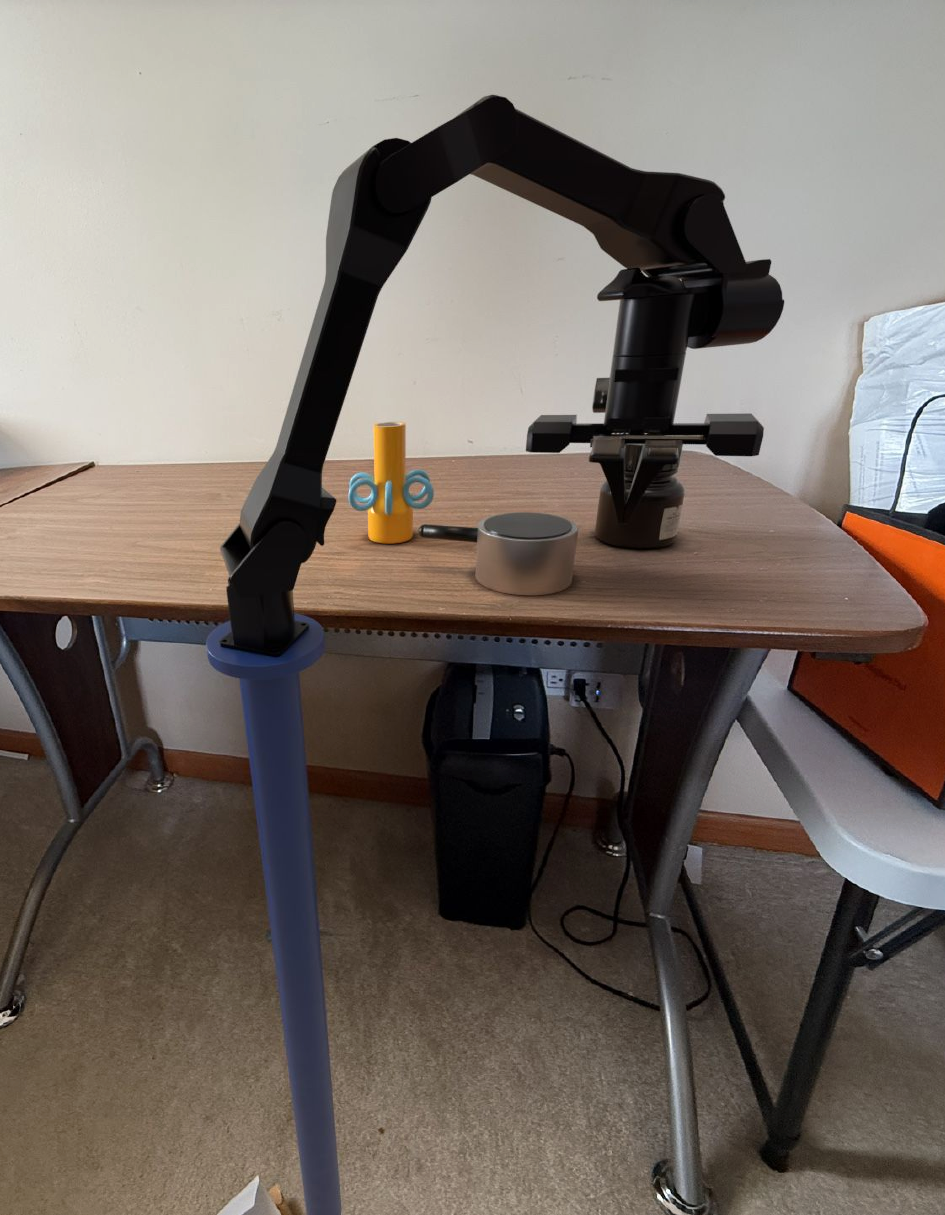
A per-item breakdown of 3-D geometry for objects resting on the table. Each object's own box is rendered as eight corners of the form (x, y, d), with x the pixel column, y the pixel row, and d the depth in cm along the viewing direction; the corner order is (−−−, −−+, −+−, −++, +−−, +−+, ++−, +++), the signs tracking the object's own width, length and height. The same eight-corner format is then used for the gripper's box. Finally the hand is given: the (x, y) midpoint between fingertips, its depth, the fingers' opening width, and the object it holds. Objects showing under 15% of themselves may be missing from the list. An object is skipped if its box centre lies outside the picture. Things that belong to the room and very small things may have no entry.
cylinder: (369, 557, 79) (366, 435, 72) (333, 535, 88) (328, 426, 81) (451, 539, 82) (455, 422, 76) (408, 520, 91) (409, 414, 85)
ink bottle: (685, 552, 72) (706, 447, 67) (600, 551, 74) (615, 449, 69) (664, 526, 80) (681, 431, 75) (588, 526, 83) (600, 433, 78)
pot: (576, 566, 71) (582, 513, 68) (566, 600, 63) (573, 542, 60) (429, 553, 78) (430, 505, 76) (405, 582, 70) (405, 530, 68)
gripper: (764, 341, 58) (727, 506, 64) (548, 352, 66) (534, 496, 73) (784, 350, 49) (739, 540, 55) (532, 361, 57) (518, 524, 64)
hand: (622, 522), depth 62 cm, fingers closed
